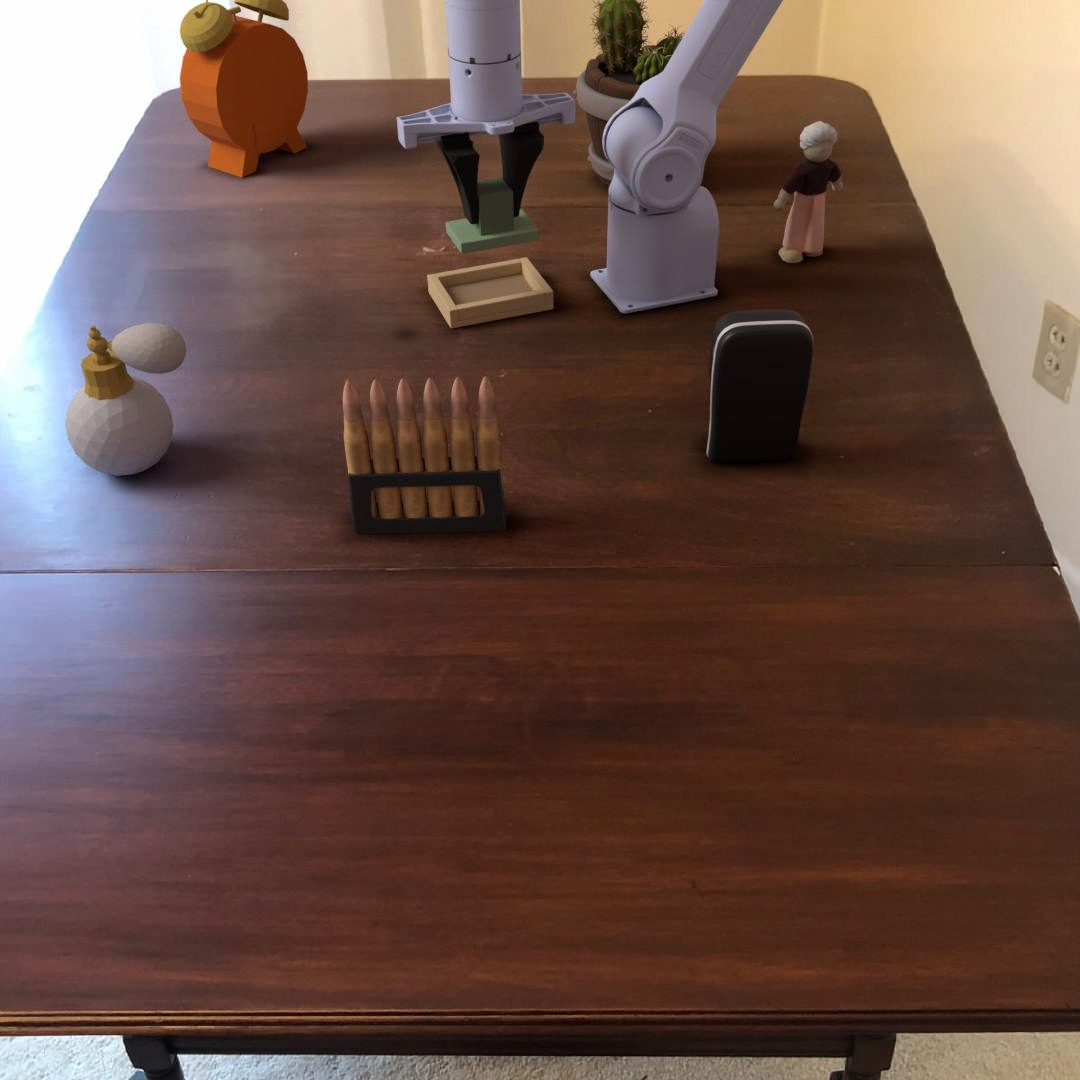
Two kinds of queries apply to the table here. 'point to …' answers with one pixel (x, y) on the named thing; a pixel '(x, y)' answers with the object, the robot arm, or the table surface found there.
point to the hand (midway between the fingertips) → (491, 216)
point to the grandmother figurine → (809, 194)
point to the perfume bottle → (124, 400)
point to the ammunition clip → (424, 463)
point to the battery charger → (758, 385)
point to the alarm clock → (242, 83)
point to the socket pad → (490, 292)
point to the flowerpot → (618, 70)
